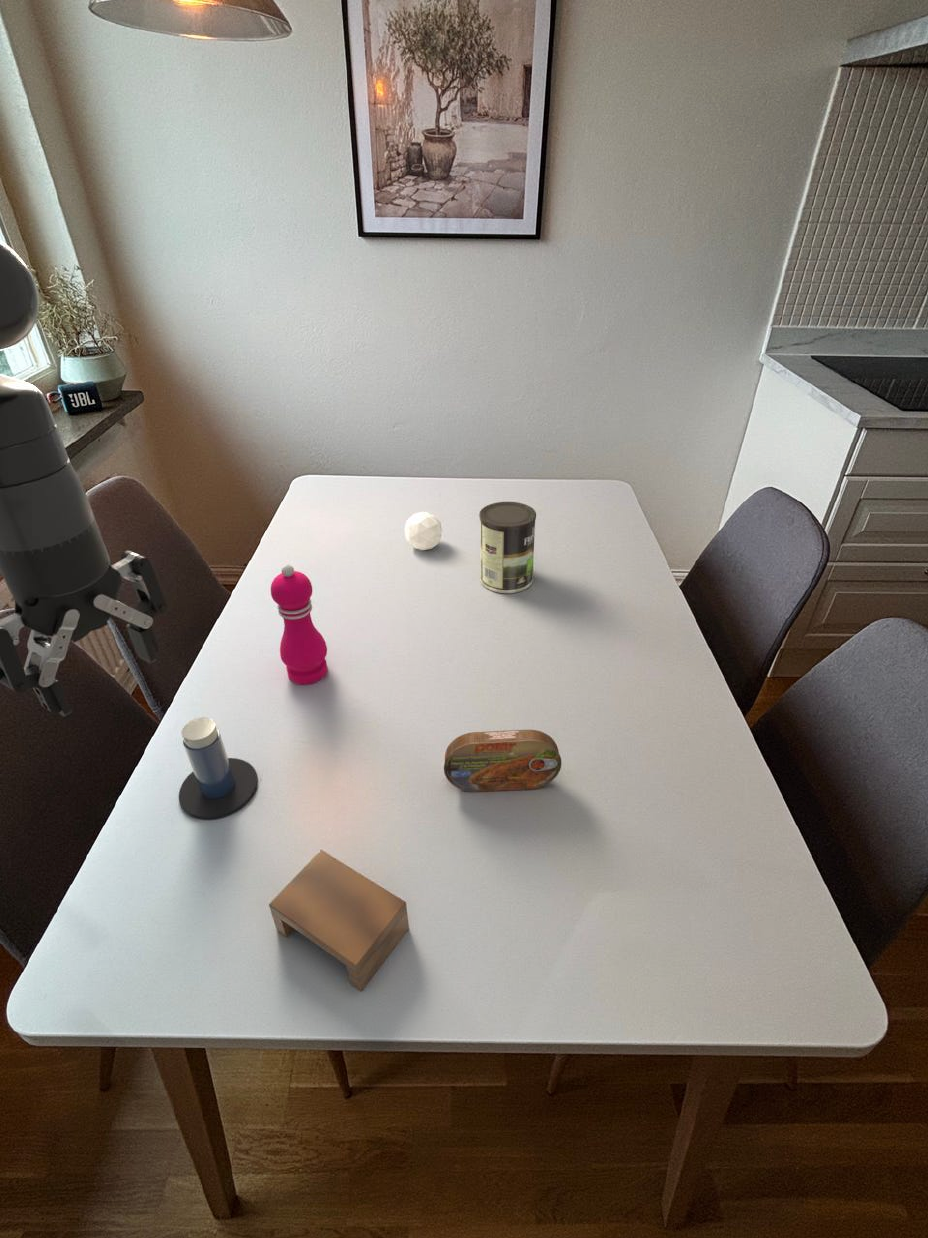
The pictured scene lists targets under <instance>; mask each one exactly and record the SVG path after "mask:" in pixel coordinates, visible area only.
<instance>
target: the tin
mask: <svg viewBox="0 0 928 1238" xmlns="http://www.w3.org/2000/svg"><path fill="white" fill-rule="evenodd" d="M558 747H559V746H558V745H557V743H556V741H555V740H554V739H553V738H552V737H551V736H550V735H549V734H547V733H545V732H543V731H540V730H537V729H513V730H512V729H511V730H510V729H509V730H494V731H493V730H492V731H490V730H489V731H473V732H468V733H464V734H462V735H459V736H457V737H456V738H455V739H453V740H452V741H451V742H450V743H449V744H448V746H447V748H446V750H445V753H444V763H443V764H444V765H443V772H444V776H445V778H446V779H447V781H448V782H449V783H450V784H451V785H452V786H453V787H455V788H457V789H459V790H462V791H464V792H471V793H481V792H499V791H520V790H521V791H523V790H535V789H539V788H542V787H545V786H546V785H548V784H550V783H551V782H552V781H554V780H555V778H556V777H557V776H558V775H559V773H560V772H561V769H562V757H561V754H560V751H559V748H558Z"/></svg>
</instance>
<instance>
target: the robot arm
mask: <svg viewBox="0 0 928 1238" xmlns="http://www.w3.org/2000/svg"><path fill="white" fill-rule="evenodd" d="M39 295H40V294H39V290H38V286H37V284H36V280H35V278H34V276H33V274H32V272H31V270H30V269H29V267H28V266H27V264H26V262H24V261H23V259H22V258H21V257H20V255H18V254H17V253H16V251H14V249H12V248H11V247H10V246H9V245H7V243H6V242H4V241H3V240H1V239H0V351H4V350H6V349H10V348H12V347H14V346H16V345H18V344H19V343H20V342H22V341H24V339H25V338H27V336H28V335H29V334H30V332H31V331H32V330H33V328H34V327H35V325H36V323H37V319H38V317H39V312H40V296H39ZM63 441H64V440H63V439H62V436H61V433H60V431H59V428H58V425H57V423H56V419H55V417H54V415H53V413H52V410H51V408H50V405H49V404H48V401H47V399H46V397H45V396H44V394H43V393H42V391H41V390H40V389H39V388H38V387H36V386H35V385H33V384H31V383H29V382H26V381H23V380H20V379H17V378H14V377H10V376H7V375H4V374H1V373H0V573H1V576H2V578H3V580H4V582H5V584H6V587H7V588H8V590H9V592H10V594H11V596H12V598H13V600H14V610H13V613H12V614H10V615H7V616H4V617H2V618H0V683H1V684H2V685H4V686H5V687H7V688H8V689H10V690H12V691H13V692H14V693H16V694H25V693H26V692H27V691H28V690H29V689H32V690H33V692H34V693H35V695H36V697H37V699H38V701H39V703H40V705H41V707H43V708H44V709H46V710H48V711H49V712H51V714H53V715H56V716H57V715H60V716H62V717H64V718H66V716H69V715H70V714H71V713H73V709H72V706H71V704H70V702H69V701H68V697H67V695H66V694H65V692H64V689H63V687H62V685H61V683H60V681H59V680H57V679H56V675H57V672H58V669H59V666H60V662H62V661H64V660H65V659H66V655H67V652H68V649H69V646H70V642H72V643H76V642H78V641H81V640H82V639H84V638H85V637H86V636H87V635H88V634H90V633H91V632H94V631H96V630H100V629H102V628H104V627H106V626H108V625H109V622H108V621H109V620H110V619H111V617H112V616H114V617H117V618H119V619H122V620H123V621H126V622H128V624H126V625H125V627H126V630H127V632H128V635H129V638H130V640H131V643H132V646H133V648H134V651H135V654H136V656H137V657H138V658H139V659H140V660H142V661H144V662H146V663H147V664H152V663H154V662H156V661H157V660H158V655H157V653H159V649H160V646H159V643H158V641H157V638H156V634H155V632H154V629H153V626H152V625H153V623H154V618H156V617H157V616H158V614H164V613H166V611H167V609H168V602H167V600H166V597H165V595H164V593H163V590H162V587H161V585H160V583H159V580H158V578H157V576H156V573H155V570H154V568H153V565H152V564H151V561H150V558H148V557H145V556H143V555H142V554H138V553H137V552H133V551H131V550H125V551H123V552H122V554H121V555H120V560H119V561H117V562H115V563H114V564H111V558H110V555H109V553H108V550H107V547H106V544H105V541H104V539H103V536H102V534H101V531H100V528H99V525H98V523H97V520H96V517H95V515H94V513H93V509H92V507H91V504H90V501H89V498H88V495H87V493H86V490H85V488H84V485H83V483H82V482H81V479H80V477H79V476H78V473H77V472H76V470H75V468H74V467H73V465H72V462H71V460H70V458H69V455H68V452H67V449H66V446H65V444H64V442H63ZM122 578H123V579H125V580H127V581H129V582H130V584H131V586H132V588H133V590H134V592H135V595H136V597H137V600H138V604H136V606H135V607H134V608H133V607H131V606H129V605H127V604H125V603H123V602H120V601H118V600H117V599H118V596H119V592H120V589H121V585H122ZM24 627H26V629H29V630H30V632H29V633H30V634H29V636H28V640H27V644H26V646H27V649H28V654H27V656H26V660H25V663H24V666H23V662H22V661H21V659H20V656H19V653H18V652H17V648H16V646H18V645H19V644H20V632H21V630H22V629H23V628H24ZM49 638H51V639H50V642H49Z"/></svg>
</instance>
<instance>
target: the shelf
mask: <svg viewBox="0 0 928 1238" xmlns="http://www.w3.org/2000/svg"><path fill="white" fill-rule="evenodd" d="M268 908H269V910H270V913H271V917H272V919H273V923H274V926H275V929H276V931H277V932H278V933H279V934H281V935H282V936H283V937H285V938H288V937H289V936H290V935H291V933H292V932H293V931H294V930H295V931H296V932H299V933H300V934H301V935H302V936H304V937H305V938H307V939H308V940H309V941H311V942H312V943H313V944H315V945H317V946H318V947H319V948H321V949H322V950H324V951H325V952H326V953H328V954H329V955H331V956H332V957H333V958H335V959H336V960H338V961H339V962H341V963H342V964H343V965H344V966H346V970H347V973H348V978H349V982H350V985H352V986H353V987H354V988H356V989H357V990H359V992H363V991H364V989H365V988H366V987H367V985H368V983H370V981H371V980H372V978H373V977H374V976H375V974H376V973H377V972H378V971H379V969H380V968H381V966H382V965H383V964H384V962H385V961H386V960H387V958H388V957H389V956H390V954H391V953H392V952H393V951H394V949H395V948H396V947H397V945H398V944H399V942H400V941H401V940H402V939H403V937H404V936H405V935H406V934H407V932H408V931H409V929H410V924H409V917H408V907H407V901H405V900H403V899H402V898H400V897H398V896H397V895H395V894H394V893H392V892H390V891H389V890H388V889H385V888H384V887H382V886H381V885H379V884H377V883H376V882H374V881H373V880H371V879H369V878H368V877H367V876H364V875H363V874H362V873H360V872H358V871H357V870H355V869H353V868H351V867H350V866H348V865H347V864H346V863H343V862H342V861H340V860H339V859H337V858H335V857H334V856H332V855H331V854H329V853H328V852H326V851H324V850H322V849H320V850H319V851H318V852H317V853H316V854H315V855H314V856H313V857H312V858H311V860H310V861H309V862H307V864H306V865H305V866H303V868H302V869H301V870H300V871H299V872H298V873H297V874H296V875H295V876H294V877H293V879H291V881H289V883H288V884H287V885H286V886H285V887H284V888H283V889H282V890H281V891H280V892H279V893H278V894H277V895H276V896H275V897H274V898H273V899H272V900H271V902H269V903H268Z"/></svg>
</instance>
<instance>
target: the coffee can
mask: <svg viewBox="0 0 928 1238" xmlns="http://www.w3.org/2000/svg"><path fill="white" fill-rule="evenodd" d="M478 517H479V525H480V526H479V537H480V541H479V542H480V543H479V545H480V546H479V547H480V548H479V549H480V555H479V557H480V559H479V560H480V575H479V576H480V577H479V580H480V581H479V582H480V583H481V585H482V586H483V587H484V588H485V589H487V590H489V591H491V592H495V593H498V594H515V593H520V592H522V591H525V590H527V589H528V588H530V587H531V586H532V584H533V581H534V576H533V575H534V559H535V558H534V555H535V553H534V552H535V536H536V535H535V534H536V533H535V532H536V519H537V512H536V510H535V509H534V508H533V507H532V506H530V505H528V504H526V503H523V502H518V501H498V502H497V501H496V502H493V503H490V504H487V505H485V506H484V507H482V508H481V509H480V511H479V515H478Z"/></svg>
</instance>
